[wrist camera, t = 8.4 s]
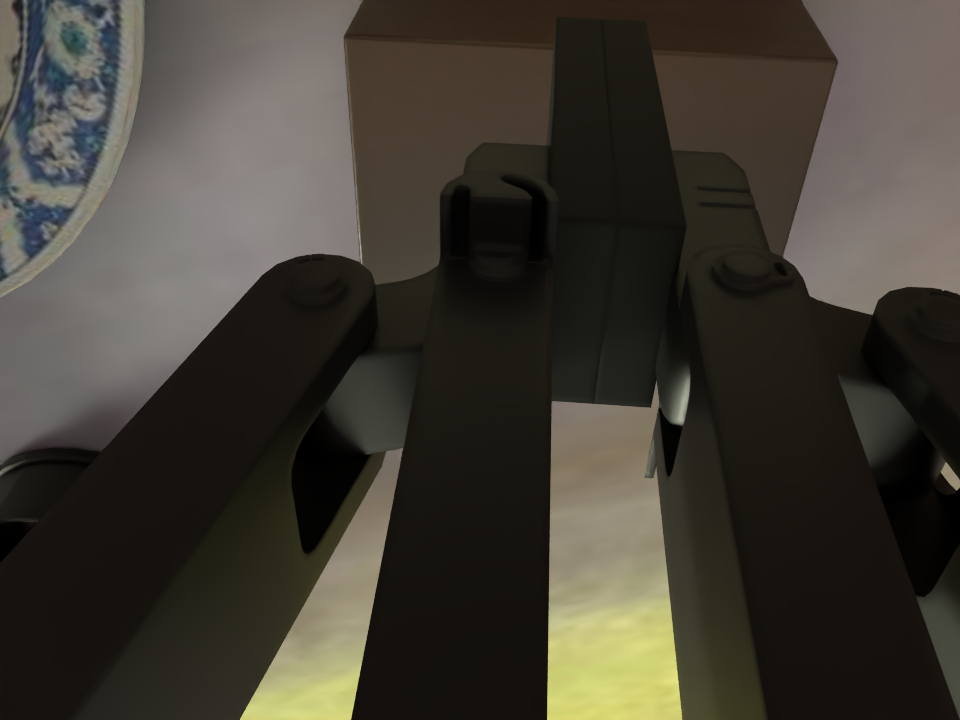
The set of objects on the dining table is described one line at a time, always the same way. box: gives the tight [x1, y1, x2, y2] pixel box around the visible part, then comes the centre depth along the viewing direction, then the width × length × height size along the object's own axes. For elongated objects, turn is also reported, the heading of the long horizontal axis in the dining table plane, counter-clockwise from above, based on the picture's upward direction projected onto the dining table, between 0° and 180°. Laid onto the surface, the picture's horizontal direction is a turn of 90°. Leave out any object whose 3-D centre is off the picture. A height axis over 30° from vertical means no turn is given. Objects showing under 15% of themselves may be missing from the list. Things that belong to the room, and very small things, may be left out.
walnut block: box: [344, 0, 838, 284], centre depth 22 cm, size 8×10×5 cm
